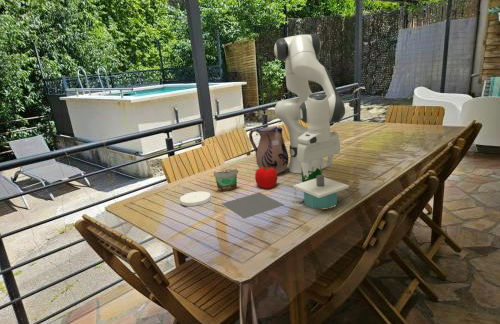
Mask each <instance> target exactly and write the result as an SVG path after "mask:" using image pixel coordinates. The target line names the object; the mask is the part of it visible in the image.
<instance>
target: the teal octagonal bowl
mask: <svg viewBox="0 0 500 324" xmlns="http://www.w3.org/2000/svg"><path fill="white" fill-rule="evenodd" d="M303 195H304V196H303V197H304V198H303V199H304V202H303V203H304V205H305V206H308V207H309V208H311V207H312V208H311V209H317V208H329V207H331V206H334V205H336V204H337V205H338V192H335V193H332V194H329V195H326V196H323V197H321V198H318V197H316V196H313V195H311V194H308V193H306V192H303Z"/></svg>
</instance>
